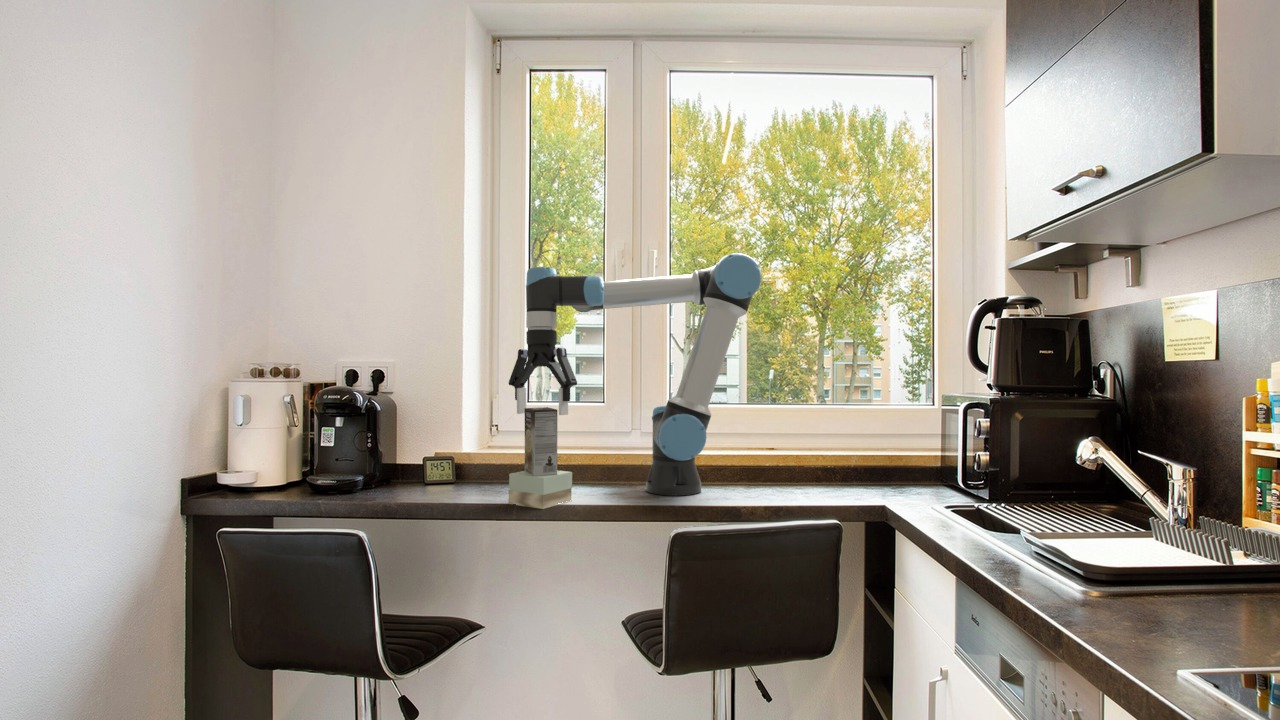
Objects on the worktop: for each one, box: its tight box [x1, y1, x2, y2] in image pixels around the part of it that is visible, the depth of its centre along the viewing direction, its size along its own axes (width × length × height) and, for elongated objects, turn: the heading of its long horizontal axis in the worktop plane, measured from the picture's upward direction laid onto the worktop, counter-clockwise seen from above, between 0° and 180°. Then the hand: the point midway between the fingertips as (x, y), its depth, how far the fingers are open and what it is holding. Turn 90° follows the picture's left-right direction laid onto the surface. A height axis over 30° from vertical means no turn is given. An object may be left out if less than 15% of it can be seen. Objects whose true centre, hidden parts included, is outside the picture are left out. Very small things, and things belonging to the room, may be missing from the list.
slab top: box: [508, 469, 573, 495], centre depth 158 cm, size 11×11×4 cm
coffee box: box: [524, 406, 558, 476], centre depth 158 cm, size 9×6×16 cm
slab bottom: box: [507, 487, 573, 510], centre depth 158 cm, size 11×11×4 cm
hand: (542, 414), depth 158 cm, fingers open, 13 cm apart
